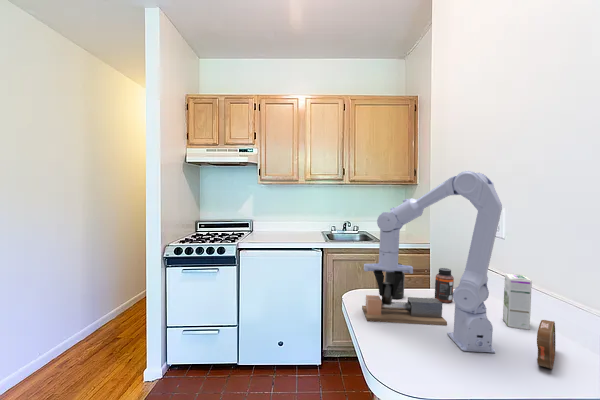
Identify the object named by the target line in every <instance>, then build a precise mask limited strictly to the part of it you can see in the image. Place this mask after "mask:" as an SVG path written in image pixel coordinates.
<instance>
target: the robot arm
mask: <svg viewBox="0 0 600 400" xmlns="http://www.w3.org/2000/svg"><path fill="white" fill-rule="evenodd" d="M450 196H462V197H463V198H465V199H466V200H468V201H469V202H470V203H471V204H472V205H473V207H474V208H475V209H476V210H477V215H476V219H475V224H474V227H473V232H472V235H471V236H472V237H471V240H470V241H471V242H470V246H469V251H468V255H467V259H466V264H465V268H464V271H463V273H462V275H461V278H460V280H459V283H458V286H457V287H455V289H453V300H452V301H453V303H454V313H453V315H454V317H453V318H454V319H453V332H451V331H447V333H446V334H447V335H448V337H449V338H451V340H452V341H453V342H454V343H455V345H456V346H457V347H458V348H459V349H460V351H463V352H476V353H477V352H478V353H479V352H480V353H496V349H494V348H493V347H492V346H493V344H492V343H493V331H494V329H493V328H494V327H493V324H492V323H491V321H490V319H489V318H488V315H487V307H486V304H485V302H486V301H487V300H488V298H489V294H490V290H489V288H488V281H489V277H488V271H489V267H490V262H491V258H492V253H493V249H494V243H495V239H496V235H497V232H498V227H499V223H500V219H501V215H502V214H501V213H502V210H503V204H502V202H501V199H500V197H499V194H498V193H497V190H496V187H495V184H494V182H493V181H492V180H491V179H490V178H489V177H488V176H486V175H485V174H484V173H480V172H475V171H472V170H465V171H461V172H459V173H458V174H457V175H453V176H451V177H449V178H448V179H446V180H444V181H443V182H441V183H440V184H439V185H437V186H436V187H434V188H432V189H431V190H429V191H427V192H426V193H424V194H423V195H422V196H421V197H419V198H417V199H416V198H412V197H411V198H404V199H403V200H402V203H401V204H399V205H397V206H395V207H393V206H392V207H391V208H389V209H390V211H389V212H388V211H383V212H381V214H379V215H378V217H377V220H376V224H377V227H378V228H379V245H378V246H379V248H378V250H379V252H378V262H377V263H363V271H364V272H373V274H374V278H375V280H376V282H377V287H378V295H379V297H382V296H383V282H385V275H384V273H386V272H391V275H392V284H393V285H392V296H395V293H396V290H397V287H398V285H399V283H400V281H401V280H402V278H403V274H402V273H404V274H414V267H413V266H412V265H404V264H402V265H398V263H399V250H400V230H401V229H402V228H403V226H405V225H407V224H409V223H410V222H412V221H413V220H416V219H417V218H419V217H421V216H422V215H423V213H424V210H425V209H427V208H428V207H430V206H432V205H433V204H434V205H435V204H436V203H438V202H440V201H442V200H443V199H445V198H448V197H450Z"/></svg>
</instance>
